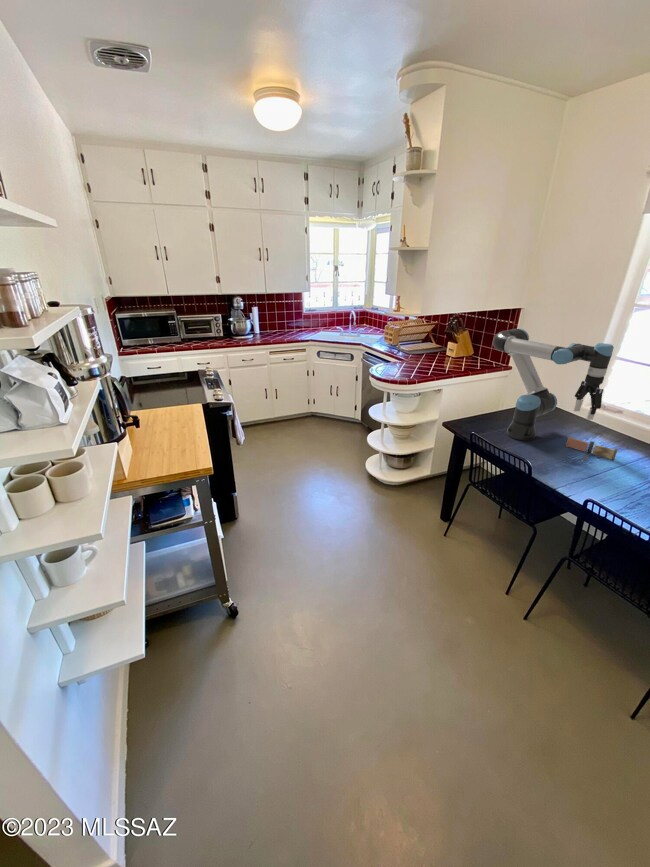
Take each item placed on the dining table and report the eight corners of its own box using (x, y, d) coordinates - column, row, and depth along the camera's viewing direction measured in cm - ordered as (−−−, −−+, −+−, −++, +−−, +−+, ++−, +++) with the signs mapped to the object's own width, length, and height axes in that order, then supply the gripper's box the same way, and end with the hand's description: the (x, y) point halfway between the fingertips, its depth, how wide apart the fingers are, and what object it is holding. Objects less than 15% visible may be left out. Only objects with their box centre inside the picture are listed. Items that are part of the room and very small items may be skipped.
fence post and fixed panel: (586, 452, 190) (589, 442, 187) (587, 451, 191) (590, 440, 188) (613, 460, 182) (617, 449, 179) (614, 459, 183) (618, 448, 180)
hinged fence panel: (585, 451, 191) (589, 441, 189) (585, 452, 191) (588, 442, 188) (565, 445, 198) (568, 436, 195) (565, 446, 197) (568, 437, 194)
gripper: (574, 368, 192) (563, 407, 202) (603, 382, 172) (589, 424, 181) (588, 368, 192) (577, 406, 202) (619, 382, 171) (604, 424, 181)
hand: (582, 415), depth 192 cm, fingers open, 10 cm apart
